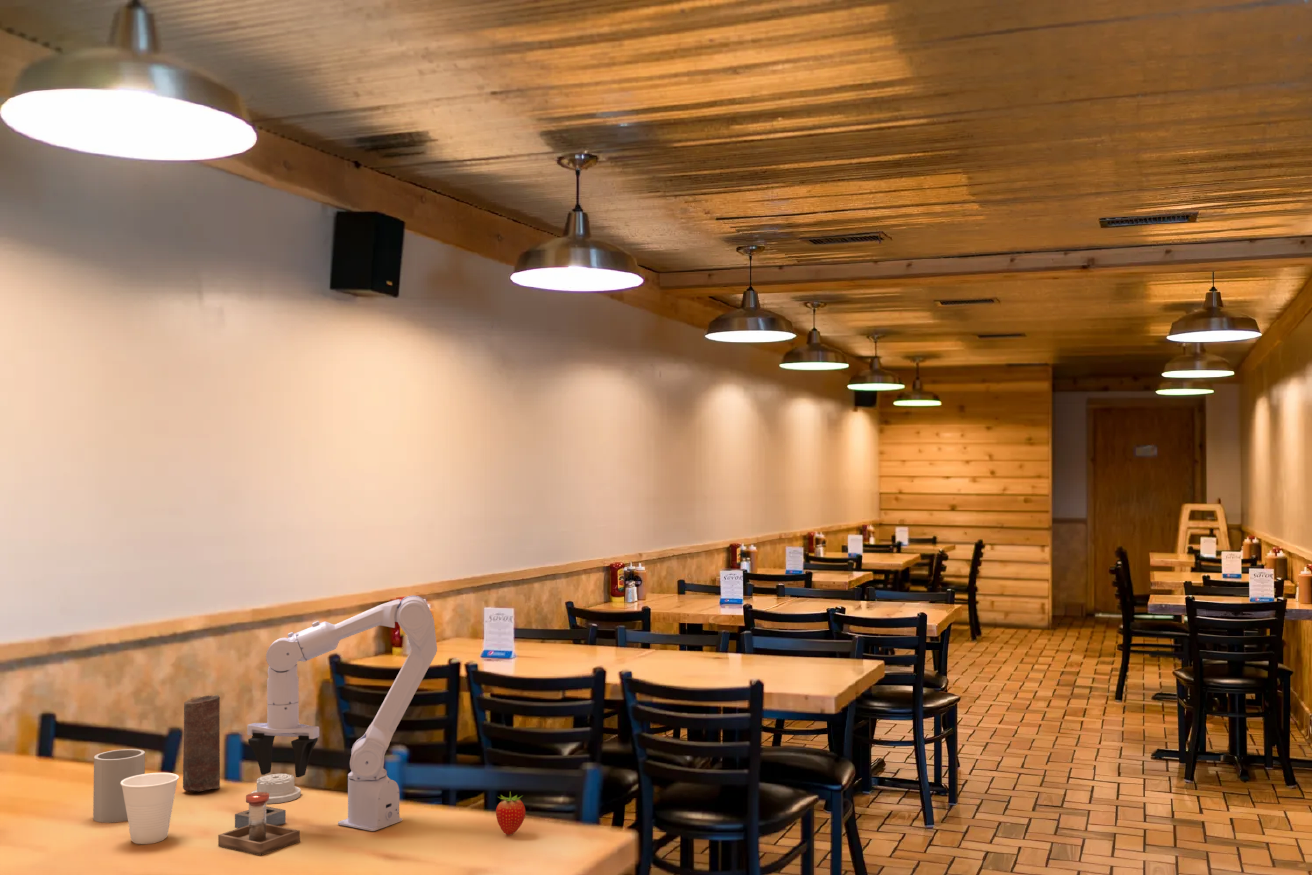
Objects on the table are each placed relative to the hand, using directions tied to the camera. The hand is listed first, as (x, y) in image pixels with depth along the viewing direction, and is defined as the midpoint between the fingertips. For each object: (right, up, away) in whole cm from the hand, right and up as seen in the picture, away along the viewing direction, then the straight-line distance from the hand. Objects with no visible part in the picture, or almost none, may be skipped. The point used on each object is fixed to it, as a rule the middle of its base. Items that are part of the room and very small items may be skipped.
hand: (283, 774), depth 217 cm
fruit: (+44, -10, -5) cm, 45 cm away
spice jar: (-2, -9, -9) cm, 13 cm away
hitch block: (-5, -10, +2) cm, 12 cm away
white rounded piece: (-9, -12, +22) cm, 26 cm away
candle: (-26, -12, +27) cm, 40 cm away
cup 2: (-23, -10, -6) cm, 26 cm away
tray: (-1, -10, -9) cm, 14 cm away
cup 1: (-36, -11, +9) cm, 38 cm away
